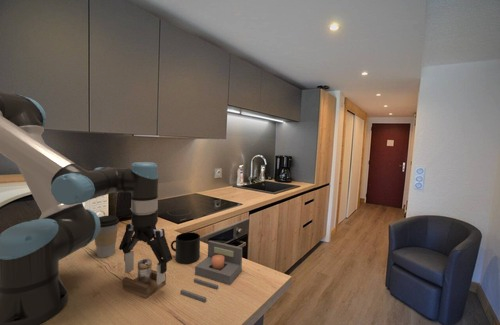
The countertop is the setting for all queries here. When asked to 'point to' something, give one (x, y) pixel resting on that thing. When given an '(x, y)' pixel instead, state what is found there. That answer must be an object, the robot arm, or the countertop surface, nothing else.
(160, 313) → the countertop surface
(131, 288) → the trough
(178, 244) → the mug
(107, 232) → the coffee cup
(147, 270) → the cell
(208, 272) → the grey blocks and bars
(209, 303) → the countertop surface
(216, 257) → the test button
